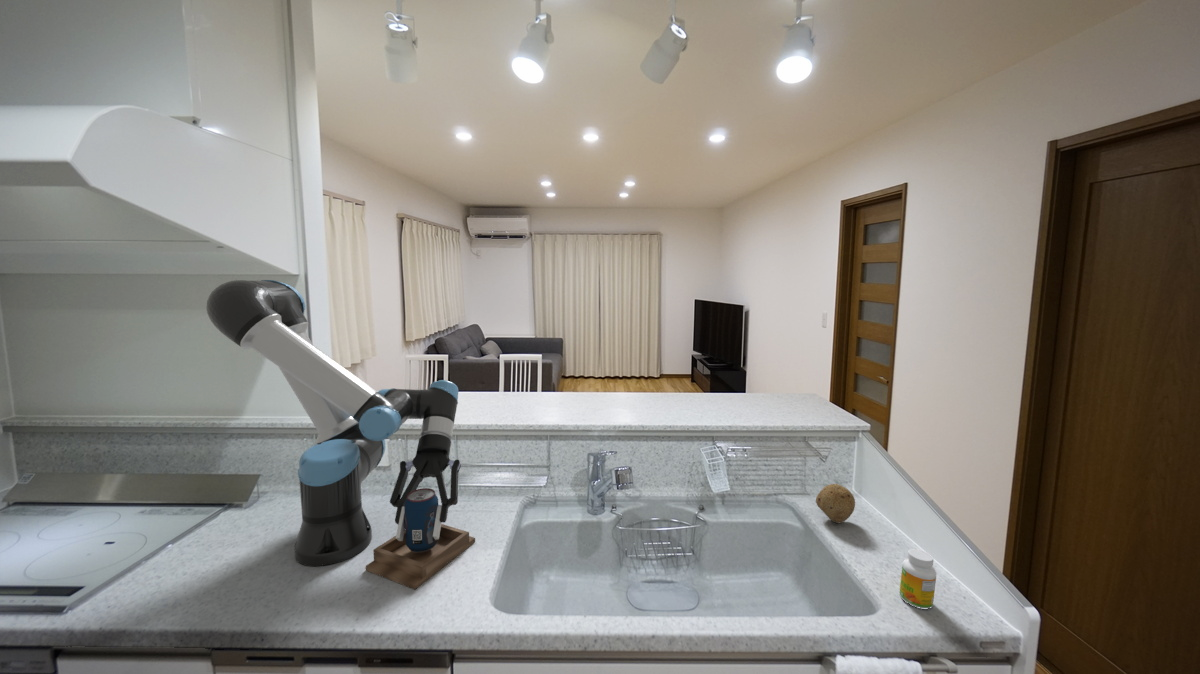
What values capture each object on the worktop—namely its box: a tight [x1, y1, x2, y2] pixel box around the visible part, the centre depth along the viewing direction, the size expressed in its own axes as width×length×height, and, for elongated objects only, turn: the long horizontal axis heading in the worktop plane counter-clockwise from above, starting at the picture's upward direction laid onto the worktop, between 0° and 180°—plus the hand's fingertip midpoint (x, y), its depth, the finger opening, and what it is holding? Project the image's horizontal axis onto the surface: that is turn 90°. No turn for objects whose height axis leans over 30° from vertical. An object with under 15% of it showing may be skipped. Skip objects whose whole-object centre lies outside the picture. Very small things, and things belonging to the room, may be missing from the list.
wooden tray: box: [365, 523, 476, 590], centre depth 97 cm, size 14×18×4 cm
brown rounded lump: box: [815, 483, 856, 524], centre depth 114 cm, size 9×9×10 cm
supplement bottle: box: [898, 548, 937, 608], centre depth 85 cm, size 5×5×10 cm
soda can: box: [404, 487, 439, 553], centre depth 97 cm, size 7×7×12 cm
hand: (417, 538), depth 93 cm, fingers closed on soda can, 7 cm apart
